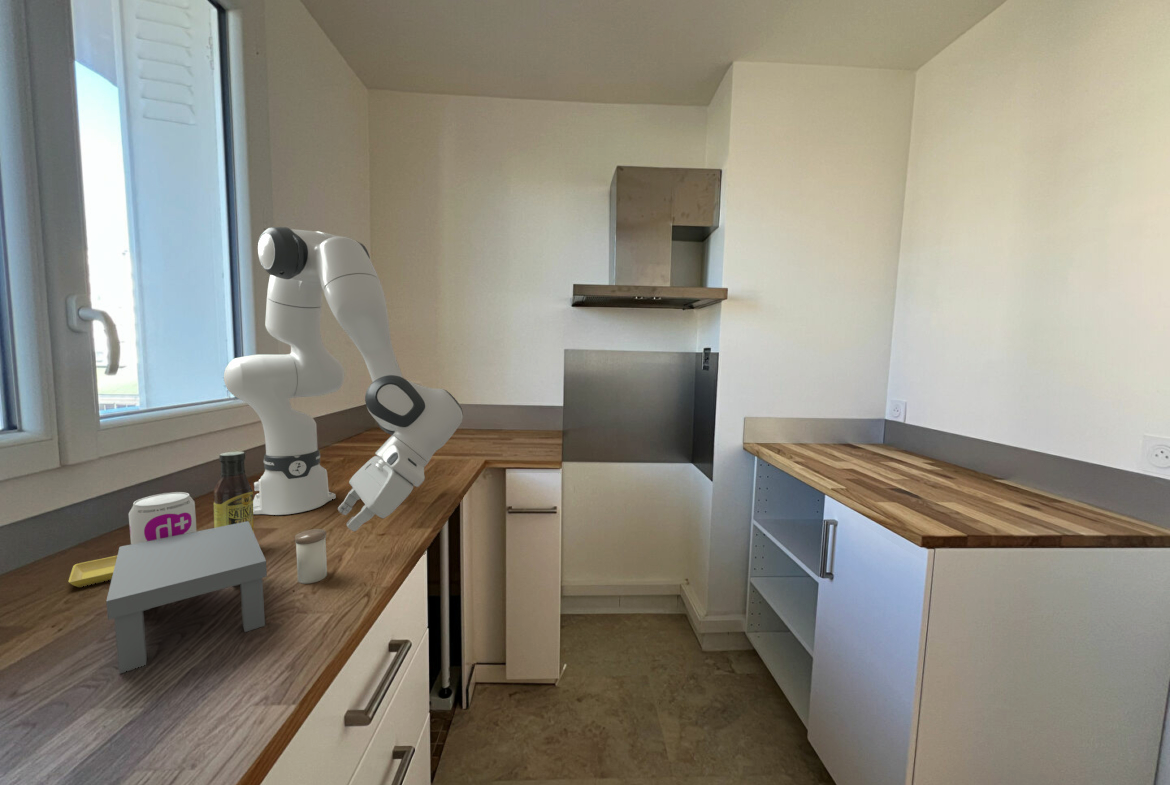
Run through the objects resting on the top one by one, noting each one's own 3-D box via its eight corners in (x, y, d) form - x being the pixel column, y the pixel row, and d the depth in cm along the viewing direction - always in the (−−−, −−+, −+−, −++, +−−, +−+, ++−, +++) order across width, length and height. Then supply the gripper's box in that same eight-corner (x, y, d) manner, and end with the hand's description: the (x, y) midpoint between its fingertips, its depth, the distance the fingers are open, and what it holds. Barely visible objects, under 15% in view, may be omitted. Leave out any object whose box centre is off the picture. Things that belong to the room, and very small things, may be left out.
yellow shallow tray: (142, 560, 87) (141, 549, 87) (141, 576, 81) (140, 565, 80) (74, 575, 81) (73, 564, 81) (68, 594, 75) (67, 582, 74)
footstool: (125, 608, 70) (119, 546, 69) (251, 574, 81) (248, 521, 80) (113, 678, 56) (106, 601, 55) (269, 625, 66) (266, 560, 65)
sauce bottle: (233, 559, 87) (226, 458, 85) (206, 555, 88) (200, 456, 86) (263, 544, 93) (258, 450, 91) (238, 541, 94) (233, 449, 93)
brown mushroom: (294, 576, 81) (292, 533, 80) (324, 568, 84) (322, 526, 83) (300, 586, 77) (298, 542, 77) (330, 577, 80) (328, 534, 80)
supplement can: (203, 582, 78) (197, 498, 77) (137, 601, 72) (129, 510, 71) (195, 566, 84) (190, 488, 82) (133, 583, 78) (126, 498, 76)
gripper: (374, 441, 95) (323, 495, 90) (401, 461, 78) (340, 528, 73) (397, 459, 98) (349, 512, 93) (427, 482, 81) (370, 548, 76)
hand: (345, 520), depth 83 cm, fingers open, 8 cm apart
